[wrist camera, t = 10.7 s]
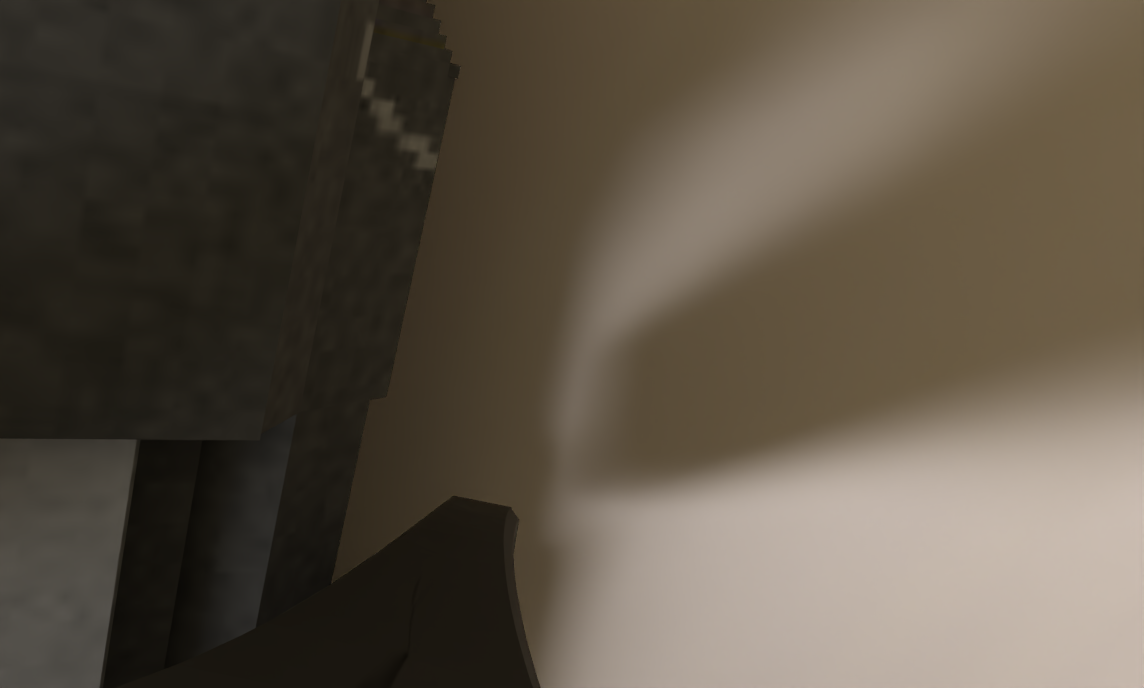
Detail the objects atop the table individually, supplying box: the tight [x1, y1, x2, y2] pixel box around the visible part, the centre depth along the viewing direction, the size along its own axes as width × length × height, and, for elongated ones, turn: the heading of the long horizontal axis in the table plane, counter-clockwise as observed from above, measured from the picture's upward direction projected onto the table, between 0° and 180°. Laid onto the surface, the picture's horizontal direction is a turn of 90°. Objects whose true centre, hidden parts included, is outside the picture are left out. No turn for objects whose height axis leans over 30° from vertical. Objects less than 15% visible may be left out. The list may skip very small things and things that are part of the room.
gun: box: [0, 0, 461, 688], centre depth 11 cm, size 4×20×10 cm
